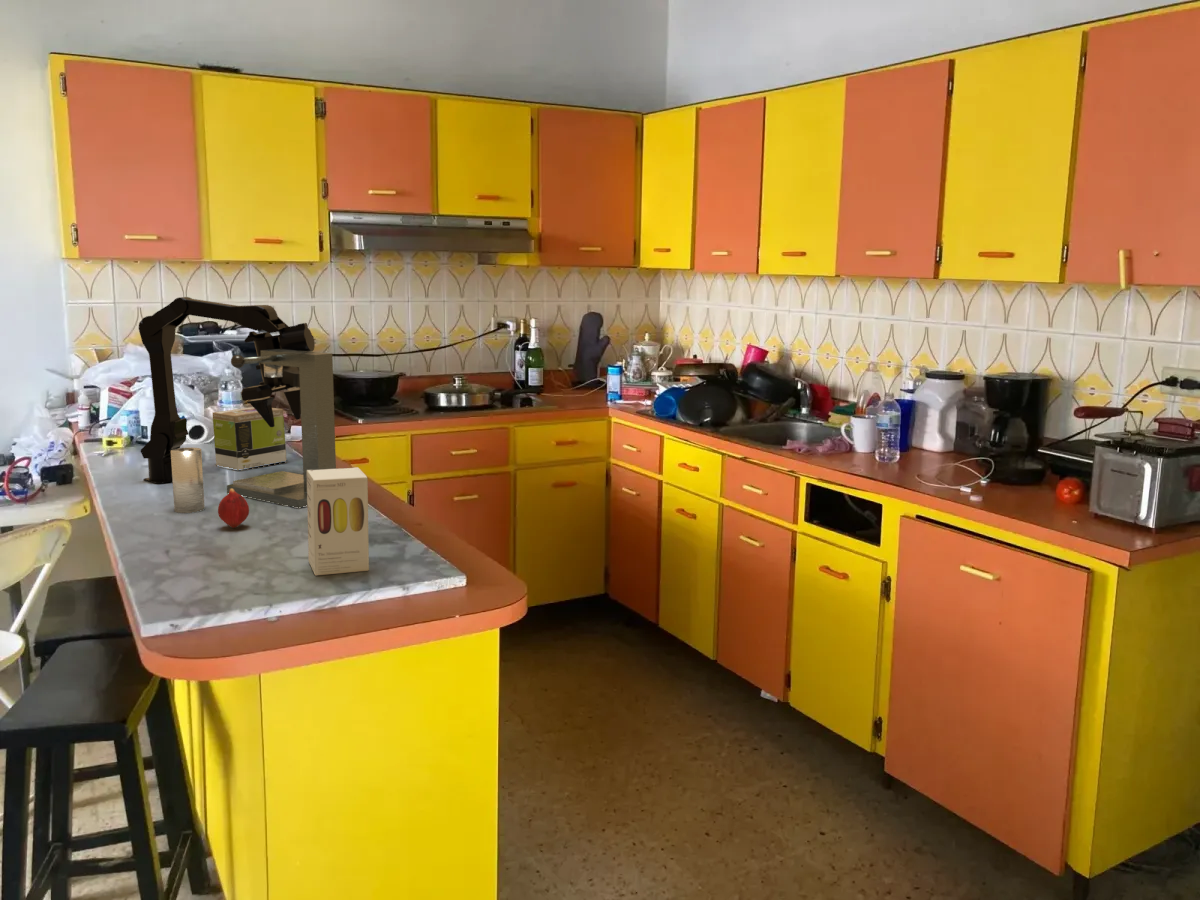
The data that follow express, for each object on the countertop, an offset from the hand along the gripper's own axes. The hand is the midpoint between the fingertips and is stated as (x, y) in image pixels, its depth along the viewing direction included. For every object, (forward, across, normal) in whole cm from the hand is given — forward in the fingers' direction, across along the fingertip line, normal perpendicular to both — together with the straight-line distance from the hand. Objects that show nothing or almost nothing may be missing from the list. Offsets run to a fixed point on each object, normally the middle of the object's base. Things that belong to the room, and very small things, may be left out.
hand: (285, 423), depth 234 cm
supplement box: (+21, -50, -49) cm, 73 cm away
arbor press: (+15, -13, -5) cm, 20 cm away
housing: (+12, -30, +4) cm, 33 cm away
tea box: (+12, +13, +26) cm, 31 cm away
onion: (+16, -38, -15) cm, 43 cm away
